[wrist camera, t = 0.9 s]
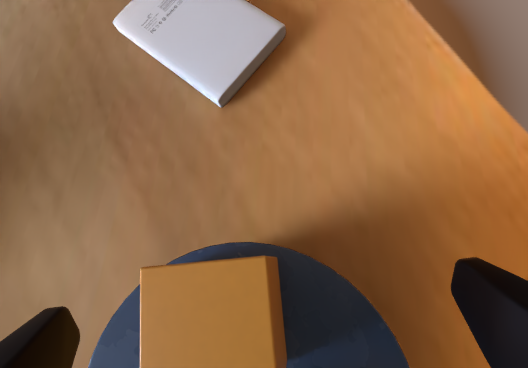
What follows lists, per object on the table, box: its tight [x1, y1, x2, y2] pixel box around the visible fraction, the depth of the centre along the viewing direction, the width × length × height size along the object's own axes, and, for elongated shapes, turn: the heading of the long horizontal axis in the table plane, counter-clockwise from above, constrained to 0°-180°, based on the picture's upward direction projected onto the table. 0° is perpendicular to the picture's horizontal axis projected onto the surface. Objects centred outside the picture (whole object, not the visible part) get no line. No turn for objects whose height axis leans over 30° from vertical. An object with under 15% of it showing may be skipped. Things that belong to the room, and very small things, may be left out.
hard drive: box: [113, 0, 286, 107], centre depth 27 cm, size 2×8×12 cm
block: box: [140, 256, 287, 368], centre depth 13 cm, size 5×5×5 cm
